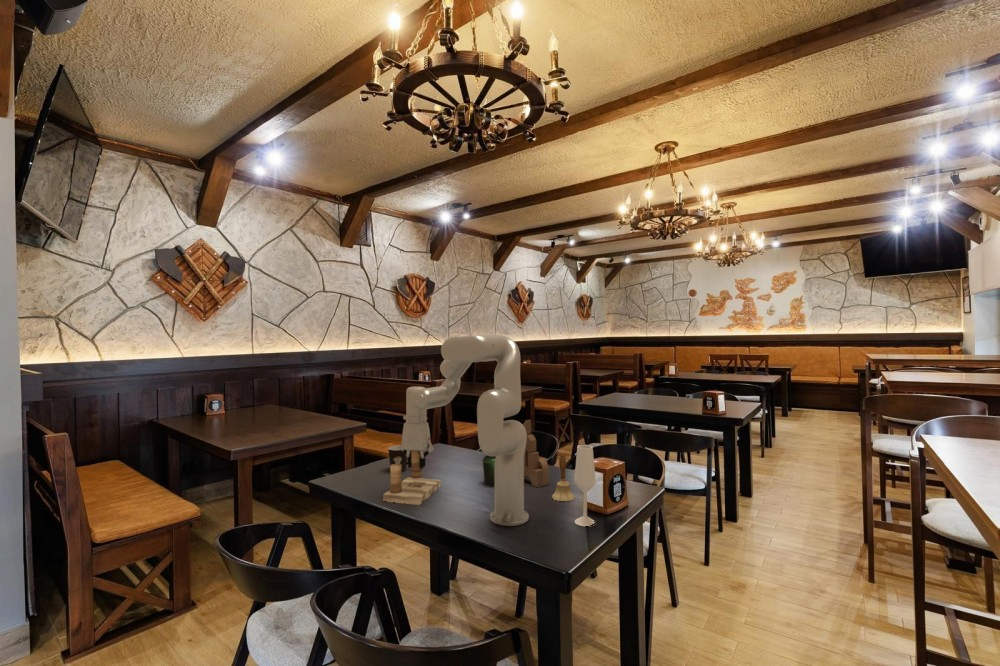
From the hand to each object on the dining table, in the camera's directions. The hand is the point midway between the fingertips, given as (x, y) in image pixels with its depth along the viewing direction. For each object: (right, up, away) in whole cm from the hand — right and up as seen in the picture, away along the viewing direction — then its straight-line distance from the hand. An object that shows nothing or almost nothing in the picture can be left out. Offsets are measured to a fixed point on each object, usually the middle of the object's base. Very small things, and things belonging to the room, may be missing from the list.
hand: (416, 467), depth 175 cm
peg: (0, -4, 0) cm, 4 cm away
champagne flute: (+59, -9, -29) cm, 66 cm away
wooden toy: (+44, -9, +12) cm, 47 cm away
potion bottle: (+29, -9, +8) cm, 31 cm away
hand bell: (+55, -9, -7) cm, 56 cm away
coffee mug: (-11, -9, +25) cm, 29 cm away
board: (-1, -9, -3) cm, 10 cm away
